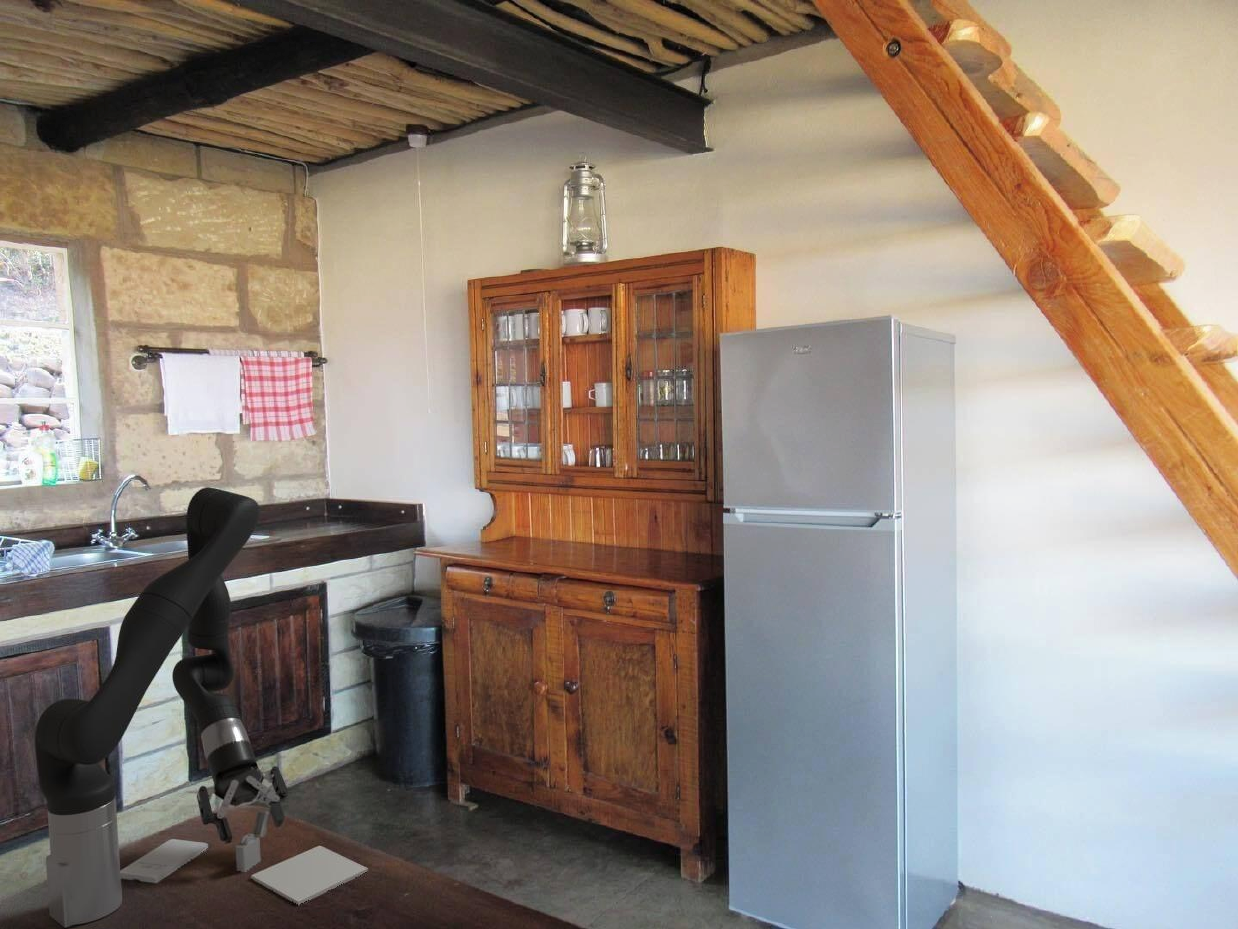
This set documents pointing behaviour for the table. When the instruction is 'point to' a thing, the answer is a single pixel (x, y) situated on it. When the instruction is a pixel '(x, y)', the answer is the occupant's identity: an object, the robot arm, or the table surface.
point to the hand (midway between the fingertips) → (255, 833)
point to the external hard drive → (163, 860)
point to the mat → (309, 874)
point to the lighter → (252, 843)
